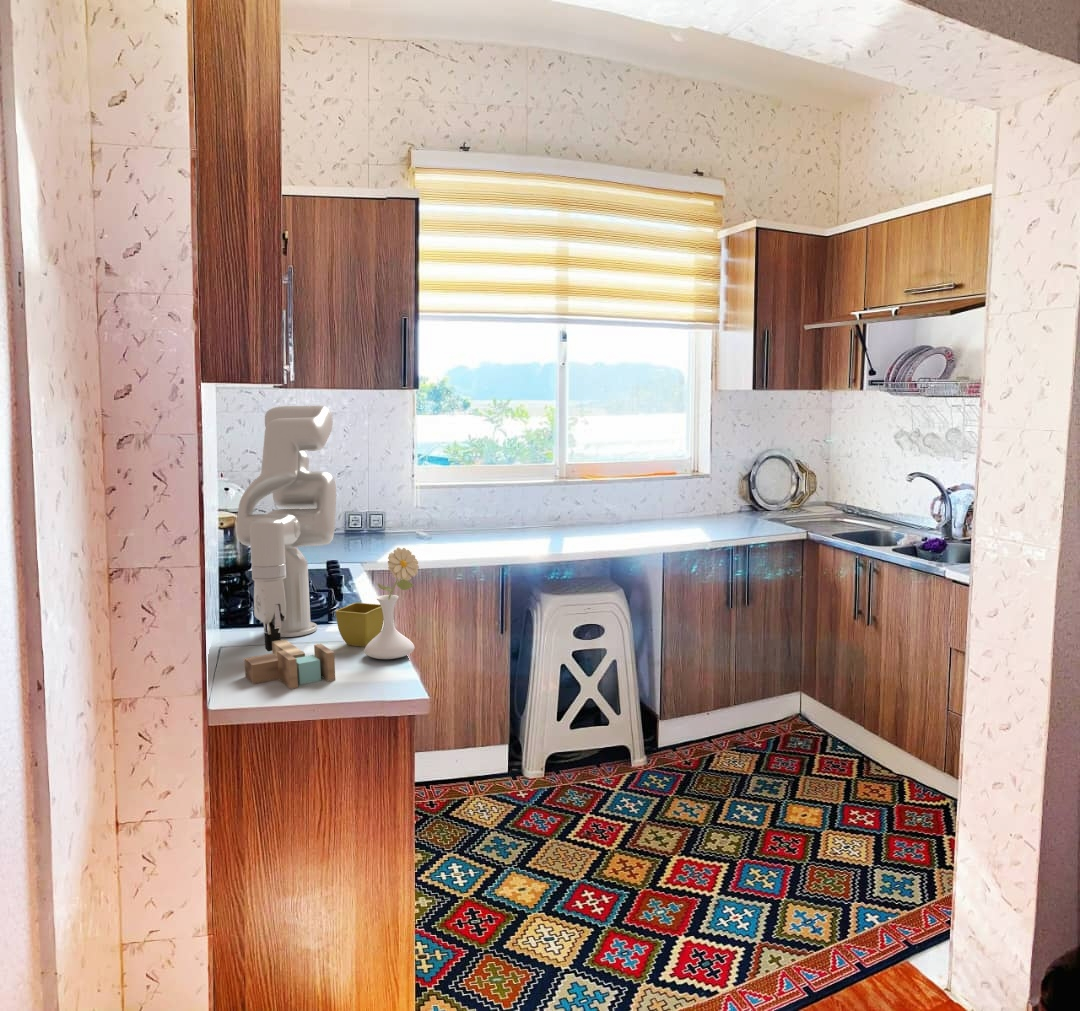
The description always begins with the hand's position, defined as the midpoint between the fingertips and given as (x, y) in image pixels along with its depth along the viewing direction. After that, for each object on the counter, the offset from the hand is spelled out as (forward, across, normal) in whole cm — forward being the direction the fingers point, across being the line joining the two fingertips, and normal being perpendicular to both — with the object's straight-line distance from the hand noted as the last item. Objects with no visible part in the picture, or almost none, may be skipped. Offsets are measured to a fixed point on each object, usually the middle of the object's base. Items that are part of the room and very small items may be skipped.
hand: (273, 649), depth 199 cm
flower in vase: (+1, +18, +22) cm, 29 cm away
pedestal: (+1, +16, -7) cm, 18 cm away
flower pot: (+1, +4, +20) cm, 21 cm away
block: (+1, +23, 0) cm, 23 cm away
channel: (+1, +23, 0) cm, 23 cm away
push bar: (+2, +11, 0) cm, 11 cm away
